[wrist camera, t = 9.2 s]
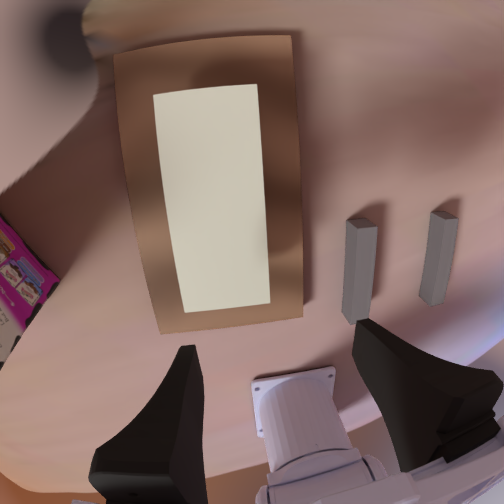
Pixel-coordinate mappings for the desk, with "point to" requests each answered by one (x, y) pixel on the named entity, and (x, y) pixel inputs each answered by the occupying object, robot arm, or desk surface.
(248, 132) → the shelf board
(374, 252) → the battens
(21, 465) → the desk surface
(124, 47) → the desk surface
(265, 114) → the peg stand
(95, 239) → the desk surface
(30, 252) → the candy bar box
